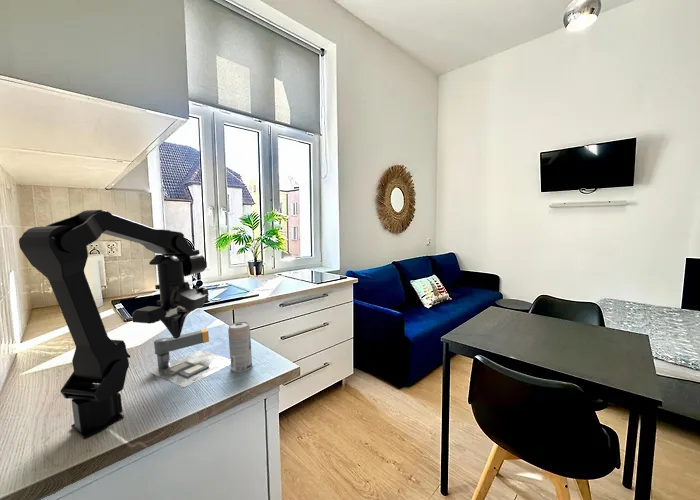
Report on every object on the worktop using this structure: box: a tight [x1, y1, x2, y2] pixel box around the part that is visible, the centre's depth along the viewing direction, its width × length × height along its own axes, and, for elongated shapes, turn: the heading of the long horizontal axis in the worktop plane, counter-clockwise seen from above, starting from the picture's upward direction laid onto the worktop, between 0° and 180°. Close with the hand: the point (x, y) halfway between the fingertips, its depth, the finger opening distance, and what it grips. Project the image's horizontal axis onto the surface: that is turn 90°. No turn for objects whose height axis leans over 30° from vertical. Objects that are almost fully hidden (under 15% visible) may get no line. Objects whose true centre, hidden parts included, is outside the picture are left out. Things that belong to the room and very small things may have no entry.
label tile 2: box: [164, 361, 195, 376], centre depth 81 cm, size 6×4×1 cm, turn 149°
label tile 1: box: [178, 363, 209, 378], centre depth 80 cm, size 6×4×1 cm, turn 149°
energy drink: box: [227, 321, 253, 373], centre depth 81 cm, size 5×5×12 cm
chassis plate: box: [148, 349, 231, 389], centre depth 82 cm, size 15×16×4 cm
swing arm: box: [153, 328, 210, 356], centre depth 85 cm, size 13×4×3 cm, turn 130°
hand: (176, 337), depth 80 cm, fingers closed
